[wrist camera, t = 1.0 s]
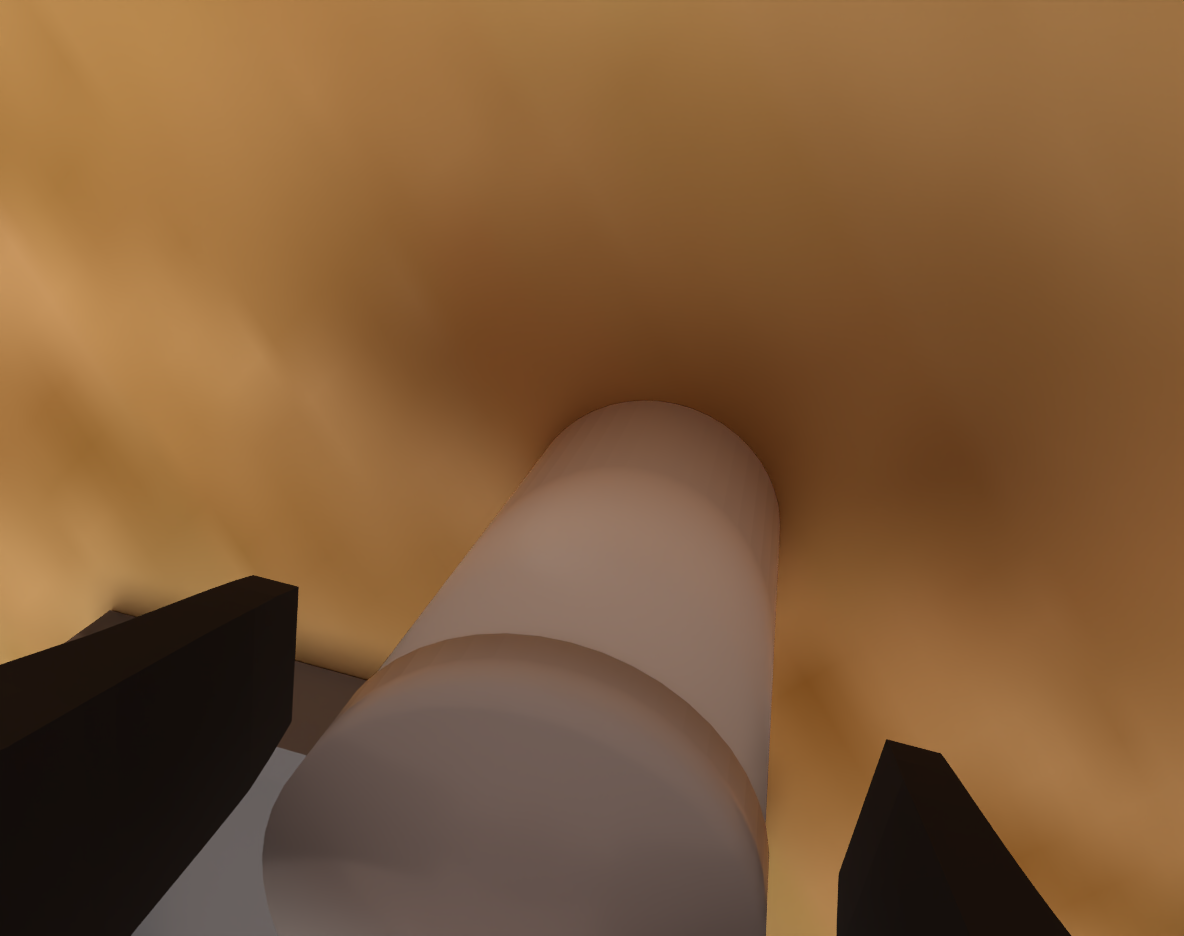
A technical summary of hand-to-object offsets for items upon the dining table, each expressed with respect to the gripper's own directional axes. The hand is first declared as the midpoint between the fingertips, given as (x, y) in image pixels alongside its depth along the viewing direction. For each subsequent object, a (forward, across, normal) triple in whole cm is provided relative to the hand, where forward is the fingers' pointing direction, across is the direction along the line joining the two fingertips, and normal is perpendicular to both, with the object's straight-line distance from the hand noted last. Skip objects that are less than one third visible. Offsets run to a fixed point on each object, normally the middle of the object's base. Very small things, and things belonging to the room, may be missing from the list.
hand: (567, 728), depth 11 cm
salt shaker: (+6, 0, 0) cm, 6 cm away
